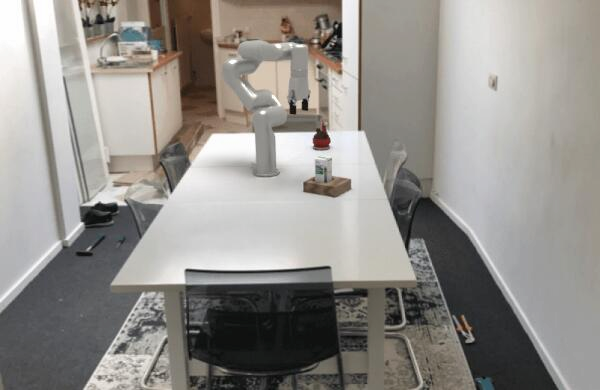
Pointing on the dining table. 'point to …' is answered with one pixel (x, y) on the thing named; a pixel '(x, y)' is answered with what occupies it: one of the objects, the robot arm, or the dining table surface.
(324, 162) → the syrup box
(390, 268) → the dining table surface
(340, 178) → the frame
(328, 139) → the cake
